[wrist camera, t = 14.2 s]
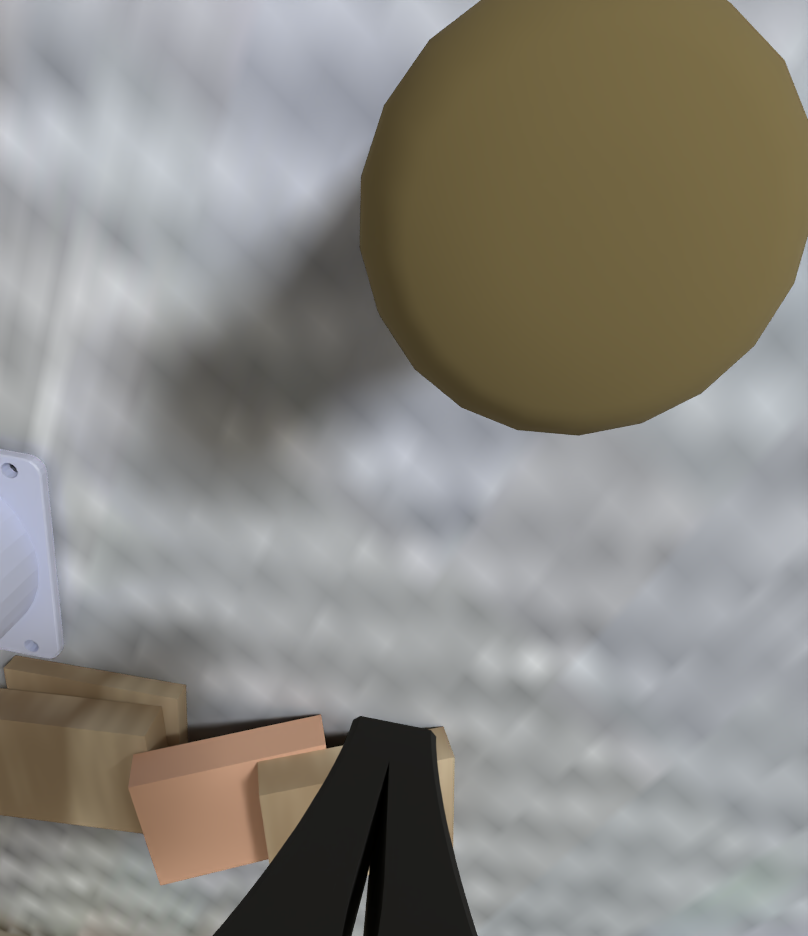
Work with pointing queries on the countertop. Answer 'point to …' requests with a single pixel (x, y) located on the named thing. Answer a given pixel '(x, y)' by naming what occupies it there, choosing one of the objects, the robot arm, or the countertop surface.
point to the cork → (585, 206)
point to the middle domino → (73, 757)
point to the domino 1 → (102, 689)
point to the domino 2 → (211, 797)
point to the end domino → (302, 775)
